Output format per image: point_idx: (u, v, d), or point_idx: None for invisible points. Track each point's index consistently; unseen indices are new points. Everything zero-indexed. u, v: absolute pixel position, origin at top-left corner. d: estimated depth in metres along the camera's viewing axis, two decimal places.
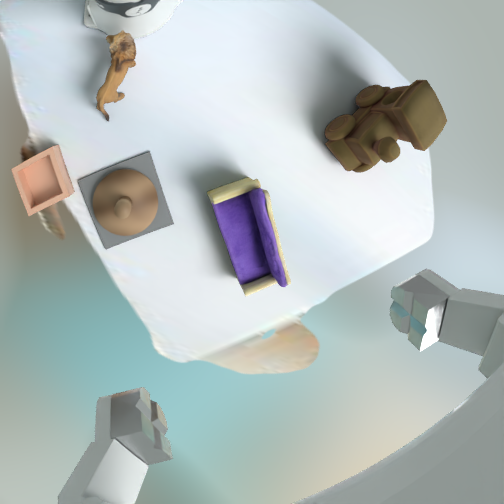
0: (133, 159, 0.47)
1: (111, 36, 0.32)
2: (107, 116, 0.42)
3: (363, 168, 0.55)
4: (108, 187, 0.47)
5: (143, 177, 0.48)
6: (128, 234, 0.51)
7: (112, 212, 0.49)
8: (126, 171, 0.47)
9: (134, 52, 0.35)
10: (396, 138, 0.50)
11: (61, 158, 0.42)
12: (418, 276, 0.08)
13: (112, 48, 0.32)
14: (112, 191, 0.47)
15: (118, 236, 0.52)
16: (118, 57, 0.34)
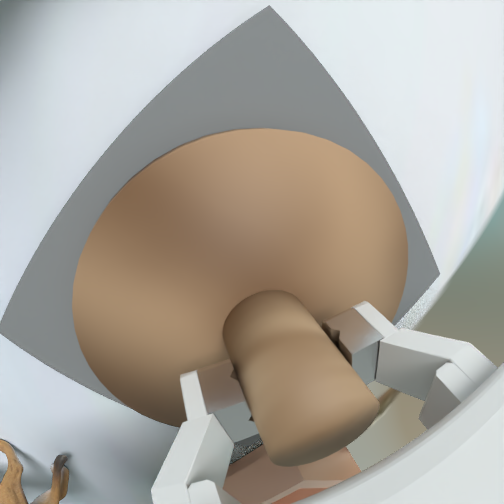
0: (64, 370, 0.09)
1: None
2: (57, 467, 0.10)
3: None
4: None
5: (86, 322, 0.08)
6: (400, 231, 0.10)
7: None
8: (118, 391, 0.09)
9: None
10: None
11: None
12: (352, 309, 0.08)
13: None
14: None
15: None
16: None
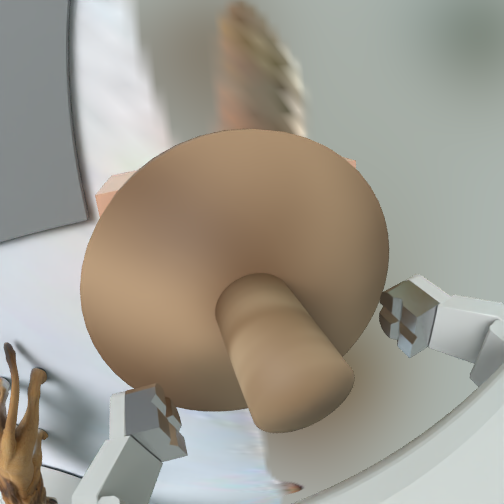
0: None
1: None
2: (7, 360, 0.12)
3: None
4: (219, 386, 0.12)
5: (93, 302, 0.09)
6: (380, 220, 0.11)
7: None
8: (120, 370, 0.10)
9: None
10: None
11: None
12: (408, 281, 0.08)
13: None
14: (228, 369, 0.12)
15: None
16: None
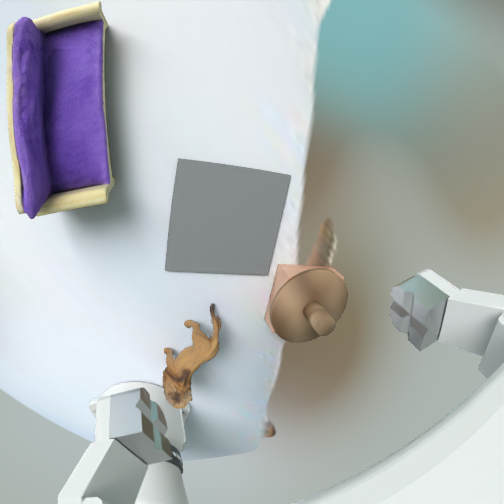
0: (189, 269, 0.38)
1: None
2: (211, 310, 0.41)
3: None
4: (293, 331, 0.42)
5: (280, 301, 0.39)
6: (346, 293, 0.43)
7: None
8: (274, 320, 0.40)
9: (165, 380, 0.38)
10: None
11: None
12: (418, 275, 0.09)
13: (188, 395, 0.37)
14: (298, 326, 0.42)
15: (263, 182, 0.36)
16: (183, 386, 0.37)
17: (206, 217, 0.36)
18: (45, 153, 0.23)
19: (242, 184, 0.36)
